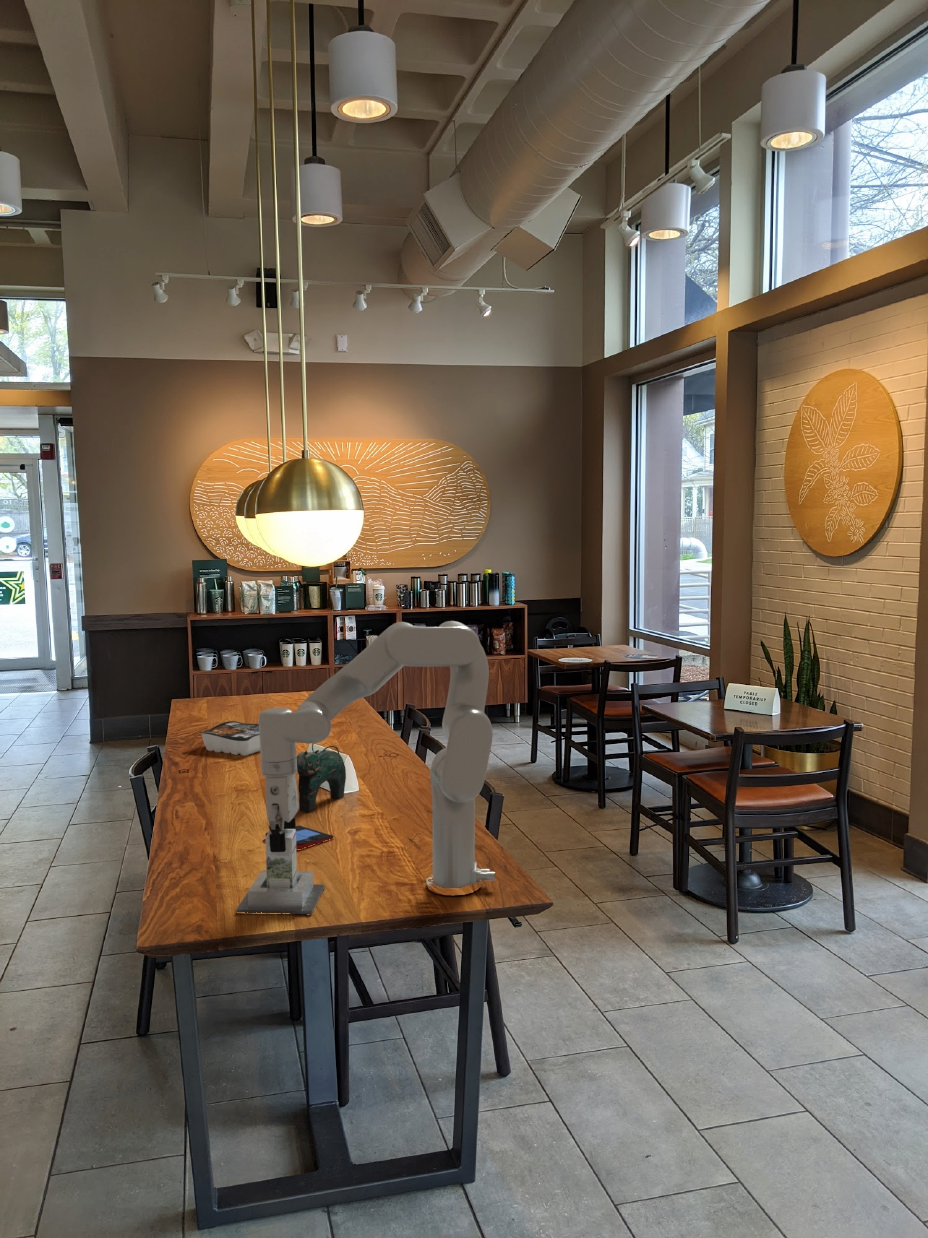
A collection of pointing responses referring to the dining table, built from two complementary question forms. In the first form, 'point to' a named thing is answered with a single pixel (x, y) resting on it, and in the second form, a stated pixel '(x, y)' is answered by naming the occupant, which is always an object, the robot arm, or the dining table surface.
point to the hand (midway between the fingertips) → (283, 843)
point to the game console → (308, 837)
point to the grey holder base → (282, 896)
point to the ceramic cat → (319, 776)
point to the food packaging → (233, 738)
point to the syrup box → (282, 863)
